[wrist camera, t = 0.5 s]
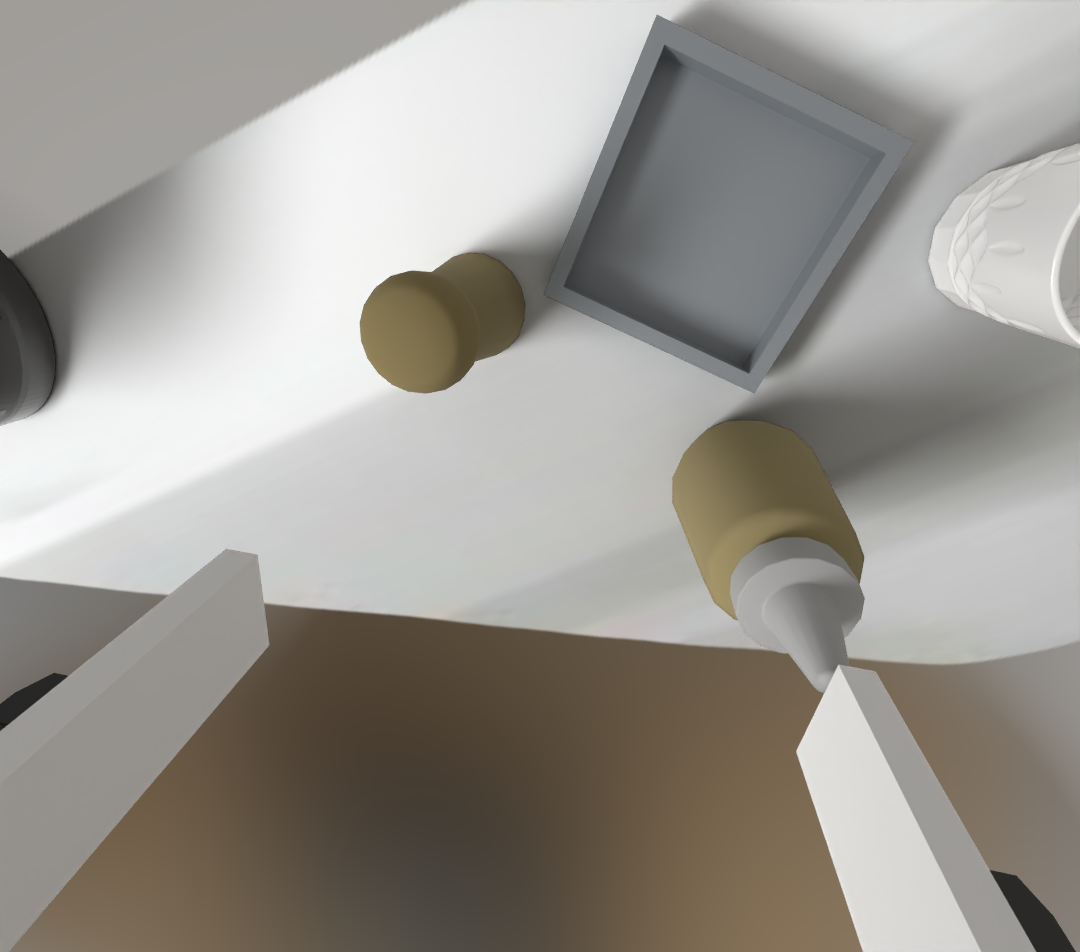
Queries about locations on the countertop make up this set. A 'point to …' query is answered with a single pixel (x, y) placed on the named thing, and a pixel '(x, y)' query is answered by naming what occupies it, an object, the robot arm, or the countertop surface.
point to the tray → (719, 206)
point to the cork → (441, 321)
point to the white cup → (1016, 246)
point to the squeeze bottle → (772, 541)
